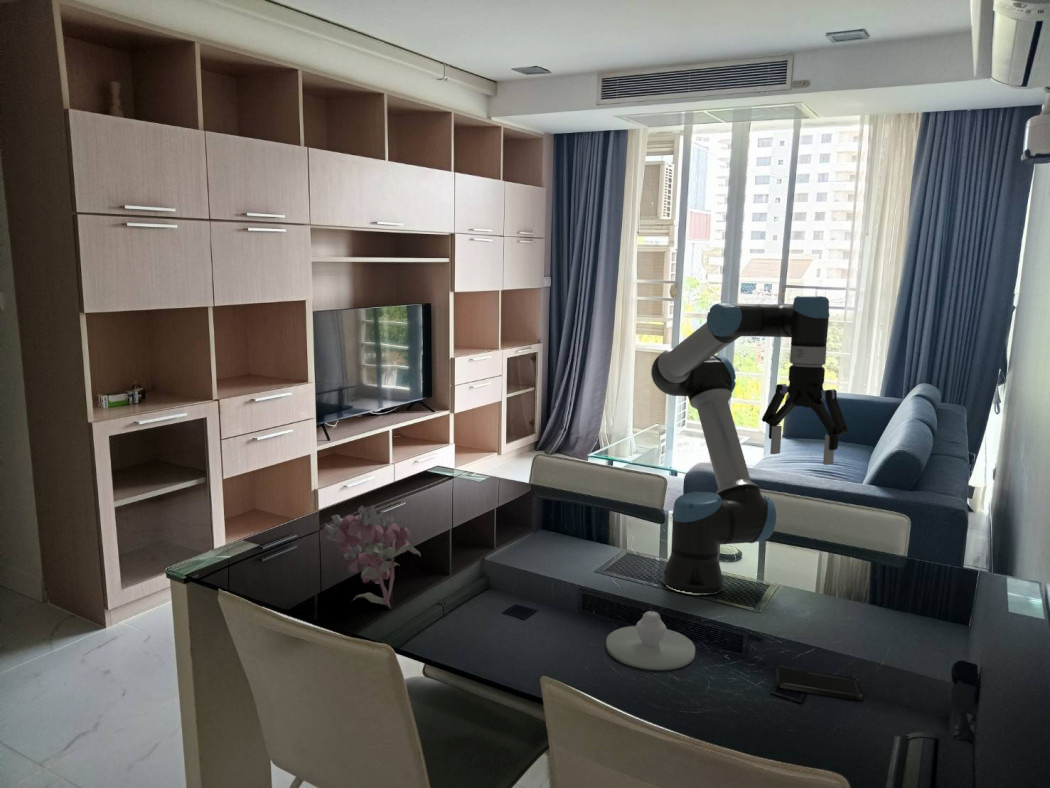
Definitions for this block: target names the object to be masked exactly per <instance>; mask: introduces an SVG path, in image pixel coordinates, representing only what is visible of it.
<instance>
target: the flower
mask: <svg viewBox="0 0 1050 788" xmlns="http://www.w3.org/2000/svg"><path fill="white" fill-rule="evenodd" d="M375 508H376V504H375V505H373V504H372V505H370V507H369V506H368V507H367V506H366V507H364V505H360V506H359V507H358V509H357V510H358V513H359V514H358V515H355V516H354V514H353V515H352V514H351V515H350V514H348V515H345V517H344V518H341V516H340V515H339V514H334V515H330V516H331V518H332V519H331V520H330V521H331V522H332V523H331V522H329V521H328V523H329V524H327V523H324V525H325V526H324V527H323V529H324V530H325V529H326V530H327V532H328V535H327V536H326V539H327V540H331V541H333V542H336V543H337V544H338V545H339V549H340V550H342V552H344V553H343V556H344V559H345V560H347V561H349V562H350V561H351V562H350V563H349V565H348V567H347V570H348V571H349V572H350V573H359V565H360V566H362V567H361V569H362V572H361V574H360V578H361V580H362V582H363V583H364V584H368V583H370V582H372V581H373V582H375V584H380V589H381V591H382V595H383V597H380V596H377V595H376V594H374V593H372V592H365V593H362V594H361V593H360V594H358V595H356V596H355V597H354V598H353V600H354V601H356V600H357V599H362V598H363V599H366V600H367V601H369V602H371V603H374V604H380V605H385V606H387V608H389V609H391V608H392V607H391V604H390V598H391V593H392V590H393V586H394V580H395V567H396V566H400V564H399V563H397V562H395V557H397V556H399V555H402V554H404V553H406V552H407V551H409V552H411V553H412V554H413V555H414V554H415V555H419V557H421V556H422V555H421V552H420V551H418V550H417V549H416V548H415V547H413V546H412V545H411V544H410V542H409V541H407V540H406V539H408V538H410V537H411V532H410V531H409V529H408V528H407V527H406V526H400V527H399V526H398V524H397V523H396V522H394V519H395V516H394V514H393V512H392V513H391V515H390V516H388V515H389V514H385V512H384V511H383V510H381V509H380V510H379V513H377V510H376V509H375ZM361 543H363V546H364V547H365V548H364V549H365V550H364V552H363V553H362V546H360V544H361ZM384 544H385V546H384ZM350 545H352V547H351V546H350ZM375 553H378V557H376V555H375ZM384 556H386V557H387V558H389V559H390V561H389V560H385V559H383V558H384ZM400 567H401V566H400ZM388 579H389V583H388V590H387V588H386V586H385V582H384V580H388ZM370 580H371V581H370ZM369 581H370V582H369ZM367 582H368V583H367ZM353 600H352V601H353Z"/></svg>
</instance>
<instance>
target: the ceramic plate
mask: <svg viewBox="0 0 1050 788" xmlns="http://www.w3.org/2000/svg"><path fill="white" fill-rule="evenodd" d="M637 632H638V631H637V629H636V625H631V626H630V625H629V626H623V627H621V628H618V629H615V630H613V631H612V632H610V633H609V634H608V635H607V637H606V643H605V647H606V651H607V652H608V654H609V655H610V656H611V657H612V658H613V659H615V660H617V661H618V662H620V663H622V664H624V665H627V666H630V667H633V668H637V669H642V670H650V671H669V670H670V671H671V670H676V669H677V670H678V669H680V668H681V669H682V668H683V667H686V666H688V665H689V664H691V663H692V662H693V661H694V659H695V657H696V646H695V644H694V642H693V641H692V640H691V639H689V638H688V637H687V636H685V635H684V634H682V633H680V632H678V631H674V630H671V629H668V628H666V633H665V634H664V637H663V639H662V640H661V642H660V643H659V645H658V646H657V647H646V646H644V645H643V644H642V641H641V639H640V637H639V635H638V633H637Z"/></svg>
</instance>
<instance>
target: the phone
mask: <svg viewBox="0 0 1050 788" xmlns="http://www.w3.org/2000/svg"><path fill="white" fill-rule="evenodd" d="M775 685H776V687H778V688H780V689H785V690H790V691H791V690H792V691H798V692H802V693H803V692H804V693H809V694H815V695H816V694H817V695H821V696H829V697H833V698H840V699H845V700H851V701H852V700H853V701H857V702H858V701H862V700H863V695H864V693H863V691H862V686H861V682H860V680H859V679H858V678H856V677H854V676H853V677H852V676H846V675H842V674H833V673H827V672H822V671H817V670H809V669H803V668H797V667H789V666H784V665H778V666H775Z"/></svg>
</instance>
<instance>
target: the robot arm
mask: <svg viewBox="0 0 1050 788" xmlns="http://www.w3.org/2000/svg"><path fill="white" fill-rule="evenodd" d="M829 320H830V300H829V298H828V297H827V296H823V295H821V296H820V295H819V296H818V295H797V296H795V297H794V298H793V303H792V304H779V303H778V304H775V303H774V304H770V303H769V304H764V303H739V302H738V303H737V302H736V303H734V302H724V303H723V302H722V303H714V304H713V305H712V306H711V307H710V308H709V311H708V312H707V316H706V322H705V323H704V324H702V325H701V326H700V327H699V328H697V329H696V330H695V331H693V332H692V333H691V334H690V335H688V336H687V337H686V338H685V339H683V340H682V341H681V342H680V343H679V344H678V345H676V346H675V347H673V348H670V349H668V348H667V349H665V350H664V351H662V352H661V353H660V354H658V356H657V357H656V358H655V359H654V361H653V363H652V365H651V371H650V374H651V377H652V378H651V379H652V381H653V383H654V385H655V386H656V387H657V389H659V390H660V391H661V392H662V393H664V394H666V395H669V396H672V397H673V396H674V397H687V398H688V400H689V405H690V406H691V407H692V408H694V409H695V410H697V413H698V418H699V421H700V424H701V429H702V432H703V436H704V440H705V444H706V448H707V451H708V455H709V459H710V462H711V466H712V471H713V474H714V477H715V482H716V486H717V491H716V492H710V491H704V492H703V491H692V492H687V493H683V494H681V495H679V496H678V497H677V498H676V499H675V500H674V504H673V509H672V514H671V515H672V517H671V518H672V531H671V551H670V556H669V558H668V561H667V562H666V563H667V564H666V566H665V569H664V571H663V573H662V582H663V581H664V583H665V584H666V585H668V586H669V587H671V588H673V589H676V590H680V591H685V592H692V593H715V592H719V591H721V590H722V589H723V590H724V588H723V587H725V586H724V585H725V584H724V583H725V580H724V576H723V573H722V569H721V564H720V561H719V548H720V547H719V546H720V545H731V544H732V545H734V544H748V543H749V544H754V543H757V542H764V541H766V540H768V539H769V538H770V537H771V536H772V535H773V533H774V531H775V527H776V523H777V508H776V506H775V504H774V502H773V500H772V499H771V498H770V496H766V495H765V494H764V495H763V494H762V493H761V490H760V487H759V485H758V484H756V483H754V482H753V481H752V480H751V477H750V473H749V470H748V466H747V463H746V462H747V461H746V459H745V455H744V452H743V449H742V445H741V442H740V439H739V436H738V435H739V434H738V431H737V429H736V425H735V421H734V418H733V413H732V411H731V407H730V404H729V401H730V399H731V398H732V395H733V392H734V390H735V387H736V381H735V380H736V371H735V368H734V366H733V364H732V362H731V361H730V360H729V359H728V358H726V357H725V356H723V355H720V354H719V355H717V353H719V352H721V351H722V350H723V349H724V348H726V347H727V346H729V345H730V344H731V343H733V342H735V341H736V340H737V339H739V338H740V337H766V338H768V337H769V338H790V339H791V341H790V351H789V352H790V353H789V354H790V355H789V363H791V364H792V365H790V366H789V367H788V382H789V384H788V385H787V384H786V383H780V384H776V386H775V392H774V395H773V397H772V399H771V401H770V402H769V405H768V407H767V408H766V410H765V412H764V414H763V416H762V417H761V420H762V422H764V423H767V424H768V438H769V440H770V449H769V450H770V452H769V455H777V454H778V455H779V454H781V447H782V446H781V443H782V431H783V430H782V429H783V426H782V425H781V422H782V421H783V420H784V419H785V418H786V416H788V415H789V414H790V412H791V411H792V410H793V409H794V408H795V407H803V408H811V410H812V411H813V412H814V413H815V414H816V416H817V417H818V419H819V420H820V422H821V424H822V425H823V427H824V429H825V430H826V432H827V433H828V434H825V435H824V445H823V446H824V448H823V458H822V459H823V463H822V465H823V466H829V465H833V464H834V459H835V458H834V457H835V451H836V450H838V447H839V436H841V435H843V434H847V433H848V431H849V429H848V426H847V424H846V422H845V421H846V420H845V418H844V415H843V413H842V411H841V407H840V405H839V401H838V399H837V398H838V397H837V395H838V394H837V393H838V391H837V390H836V389H833V388H832V389H824V387H823V386H824V383H825V375H826V374H825V373H826V372H825V371H826V368H825V367H823V365H825V364H826V360H827V342H828V331H829ZM787 394H788V396H789V397H788V398H787V399H786V400H785V402H784V404H783V405H782V406H781V404H782V403H783V401H784V399H785V397H786V395H787ZM822 398H823V399H824V400H825V403H826V405H825V403H824V401H822ZM780 406H781V407H780ZM825 406H827V409H828V411H827V409H826V407H825ZM779 408H780V409H779Z"/></svg>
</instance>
